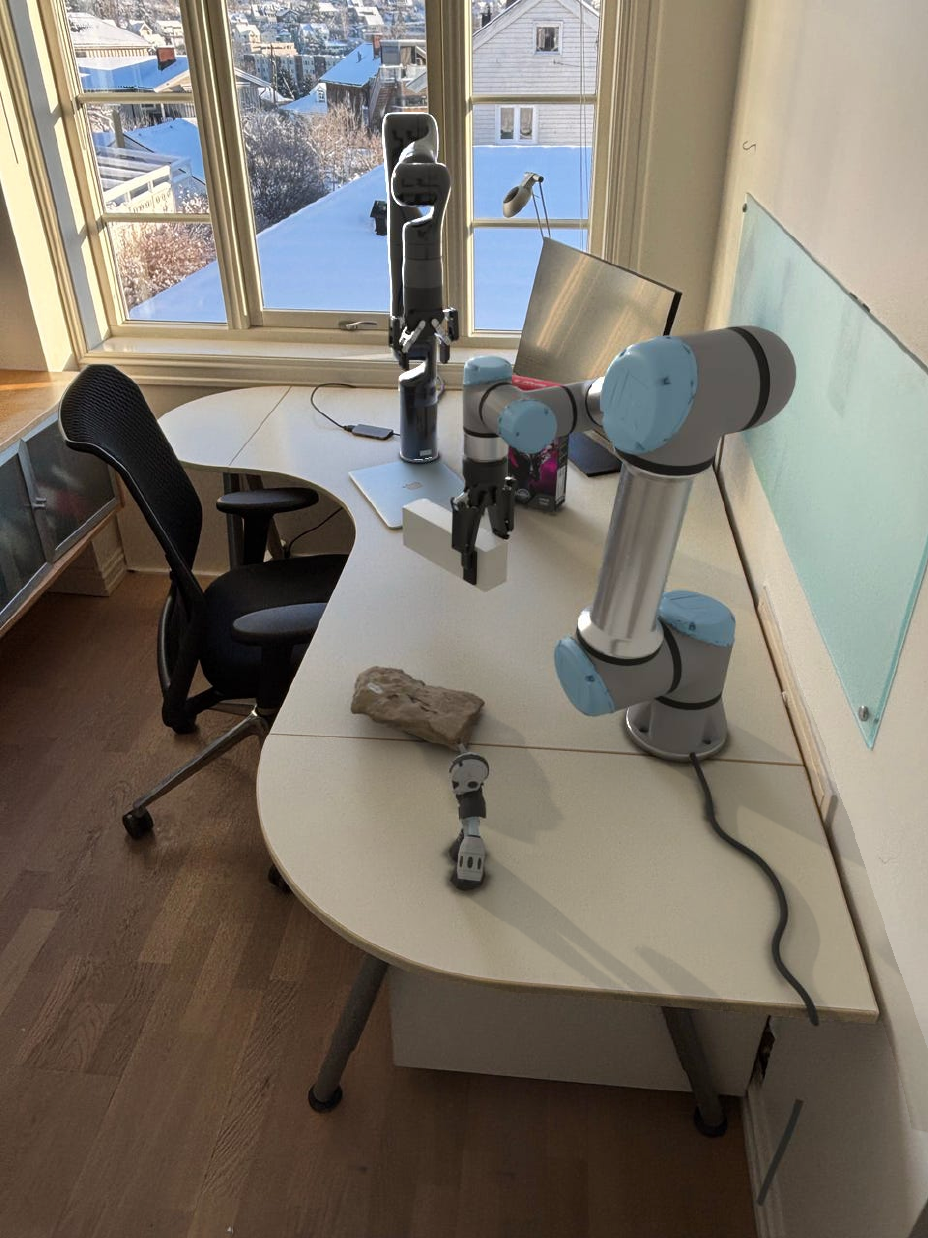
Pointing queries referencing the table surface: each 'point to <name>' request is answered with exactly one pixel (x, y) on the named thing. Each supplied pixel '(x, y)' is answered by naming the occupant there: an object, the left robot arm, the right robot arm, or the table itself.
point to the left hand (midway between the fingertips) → (424, 366)
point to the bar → (433, 538)
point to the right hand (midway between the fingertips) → (482, 575)
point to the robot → (469, 818)
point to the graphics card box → (539, 464)
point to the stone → (416, 706)
